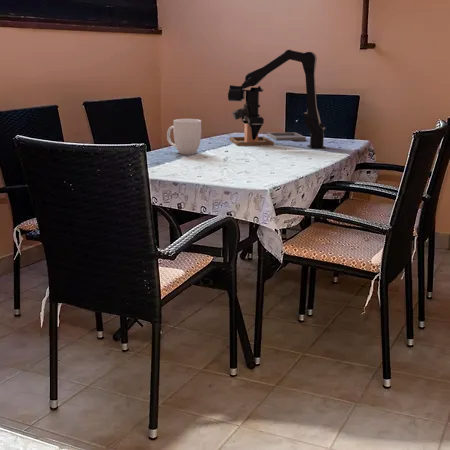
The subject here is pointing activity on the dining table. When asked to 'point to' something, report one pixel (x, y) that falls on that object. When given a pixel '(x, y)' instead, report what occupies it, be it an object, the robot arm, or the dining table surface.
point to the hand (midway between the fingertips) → (251, 138)
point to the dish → (261, 141)
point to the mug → (186, 135)
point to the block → (249, 134)
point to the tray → (287, 136)
